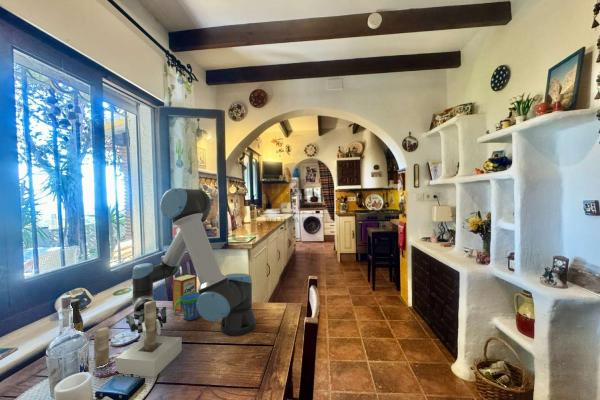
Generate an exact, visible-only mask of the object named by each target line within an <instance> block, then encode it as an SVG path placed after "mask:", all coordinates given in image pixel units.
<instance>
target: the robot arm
mask: <svg viewBox="0 0 600 400" xmlns="http://www.w3.org/2000/svg"><path fill="white" fill-rule="evenodd" d="M161 197H162V198H161V200H160V206H159V207H160V211H161V213H162V215H163V216H164V217H166V218H167V219H171V221H172V224H173V226H175V227H178V230H177V232H176V234H175V236H174V238H173V240H172V241H171V243H170V245H169V247H168V249H167V250H166V253H165V254H164V256H163V258H162V260H161V261H160V263H158V264H156V265H153V264H152V263H151V262H149V263H146V262H145V263H139V264H136V265H134V266H133V268H132V275H131V277H132V298H131V304H132V306H133V314H132V315H131V314H127V315H126V316H125V323H126V324H127V325H129V329H130V332H132V333H134V332H135V331H137V334H142V339H146V327H145V324H144V304H145V303H146V302H149V301H155V300H154V290H153V289H154V283H157V282H161V281H163V280H166V279H168V278H172V277H174V276H175V275H177V274H179V272H180V270H181V269H180V268H181V265H180V262H181V260H182V259H183V257H184V256H185V253H186V252H188V255H189V257H190V260H191V263H192V266H193V268H194V271H195V275H196V276H197V279H198V282H199V287H197V292H199V295H200V296H199V298H198V299H197V301H198V302H197V304H196V305H197V310H198V312H199V314H200V317H202V318H203V319H204V320H206V321H208V322H214V323H216V322H219V321H220V320H221V321H220V331H221V333H222V334H224V335H227V336H241V335H246V334H248V333H251V332H252V331H253V330H254V329H255V328H256V325H257V323H256V317H255V313H254V310H253V306H252V305H253V304H252V303H253V301H252V298H253V297H252V296H253V295H252V293H253V289H252V288H253V287H252V286H253V282H252V276H251V275H250V274H247V273H228V274H226V275H224V274H222V271H221V269H220V265H219V263H218V260H217V258H216V256H215V253H214V250H213V248H212V245H211V243H210V240H209V238H208V235H207V232H206V230H205V227H204V225H203V223H205V222H206V220H207V219H208V218H209V216H210V212H211V209H212V200H211V197H210V195H208V192H206V191H204V190H202V189H197V188H196V189H195V188H194V189H193V188H182V187H179V188H178V187H177V188H170V189H168V190H166V191H165V192H164V194H163V195H162V196H161ZM159 314H160V315H159ZM167 316H168V315H167V306H163V307H162V308H159V307H157V305H156V334H157V336H161V331H162V328H163V327H164V324H165V325H166V324H167ZM135 320H137V323H136V321H135Z"/></svg>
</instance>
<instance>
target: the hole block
mask: <svg viewBox="0 0 600 400" xmlns="http://www.w3.org/2000/svg"><path fill="white" fill-rule="evenodd" d="M182 341H183V339H182V337H178V336H166V335H156V350H154V351H153V352H144V339H143V338H141V339H140V340H139V341H137V342H135V343H134V344H132V345H131V346H130V347H129V348H128V349H126V350H124V351H122V353H120V354H118V355H117V356H115V358H114V359H115V360H114V361H115V364H114V365H115V369H114V370H117V371H118V372H119V373H123V374H122V375H127V374H134V375H133V376H136V375H138V376H139V377H146V376H147V377H148V378H155V377H157V376H158V375H159V374H160V373H161V372H162V371H163V370H164V369H165V368H166V367H167V366H168V365H169V364H170V363H171V362H172V361H173V360H174V359H176V358H177V356H178V355H179V354H180V353H182V352H183V351H182V350H183V349H182V348H183V347H182V345H183V343H182Z"/></svg>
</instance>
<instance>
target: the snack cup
mask: <svg viewBox="0 0 600 400" xmlns="http://www.w3.org/2000/svg"><path fill="white" fill-rule="evenodd" d="M199 296H200V295H199V292H198V291H197V292H193V293H188V294H184V295H182V296H181V297H180V299H179V300H178V301H177V302H176V303H175V305H174V310H173V312H174V315H175V316H177V311H176V309H175V308H176V305H177V304H178V303H179V302H180V304H181V307H182V312H181V313H182V317H183V319H184V320H185V321H186V320H187V321H192V320H196V319H198V318H200V317H201V315H200V314H199V312H198V310H197V305H196V304H197V302H198V301H197V299H198V298H199Z"/></svg>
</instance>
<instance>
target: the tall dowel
mask: <svg viewBox="0 0 600 400" xmlns="http://www.w3.org/2000/svg"><path fill="white" fill-rule="evenodd" d="M156 306H157V301H155V300H154V301H149V302H146V303H145V304H144V324H145V327H146V339H144V352H153V351H154V350H156V336H157V330H156Z"/></svg>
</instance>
